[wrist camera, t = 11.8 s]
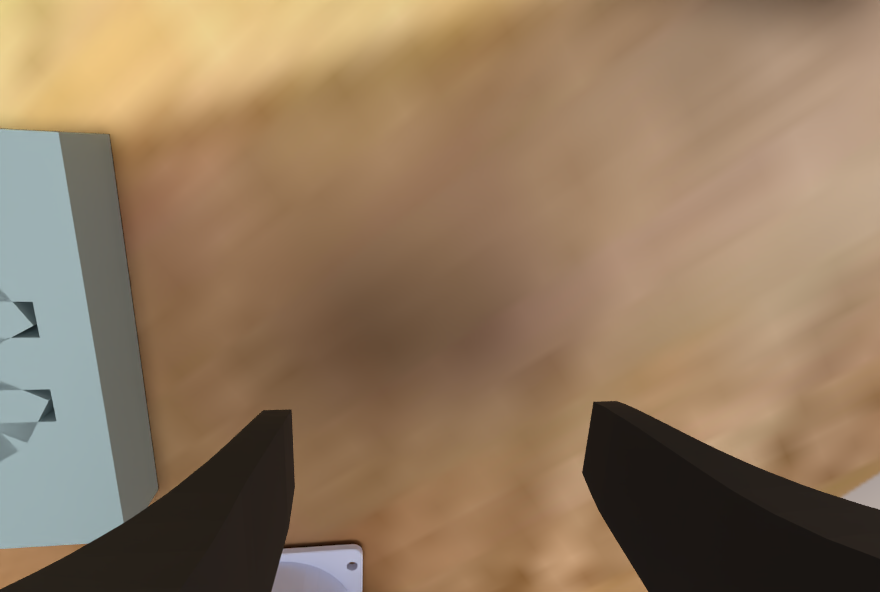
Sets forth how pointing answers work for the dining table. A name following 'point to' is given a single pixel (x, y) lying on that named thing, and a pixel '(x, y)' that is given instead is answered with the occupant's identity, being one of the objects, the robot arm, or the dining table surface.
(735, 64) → the dining table surface
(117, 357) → the socket block
